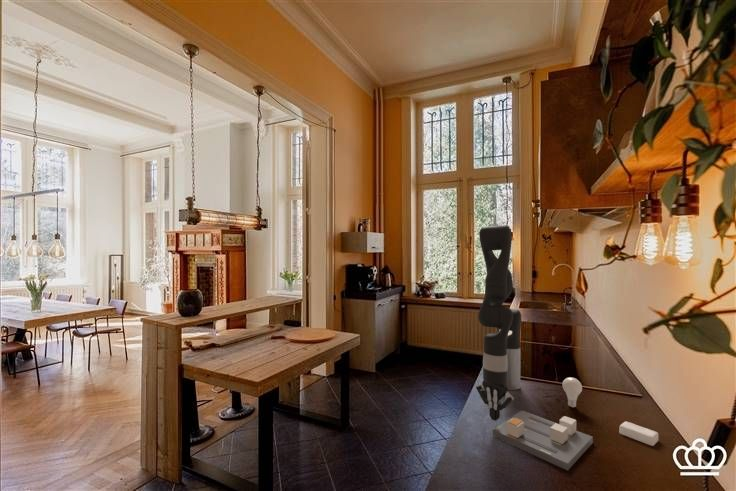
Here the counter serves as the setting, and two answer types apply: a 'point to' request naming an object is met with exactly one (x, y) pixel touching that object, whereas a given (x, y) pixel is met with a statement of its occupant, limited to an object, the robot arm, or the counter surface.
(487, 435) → the counter surface
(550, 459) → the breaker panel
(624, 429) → the soap
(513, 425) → the block
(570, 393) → the lightbulb
